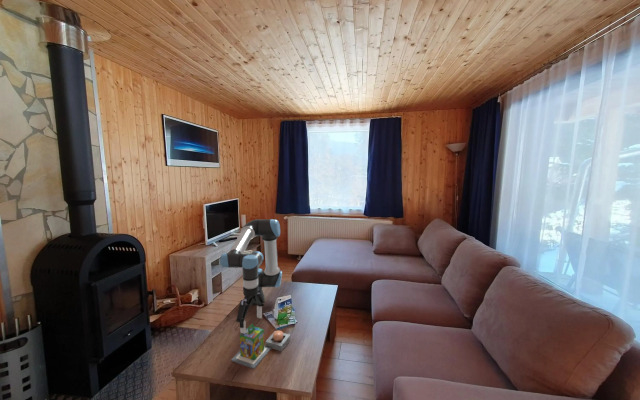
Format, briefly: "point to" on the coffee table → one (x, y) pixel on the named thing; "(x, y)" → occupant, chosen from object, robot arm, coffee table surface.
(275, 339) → the button
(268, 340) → the button console
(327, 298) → the coffee table surface
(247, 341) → the chalk box
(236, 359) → the slate
